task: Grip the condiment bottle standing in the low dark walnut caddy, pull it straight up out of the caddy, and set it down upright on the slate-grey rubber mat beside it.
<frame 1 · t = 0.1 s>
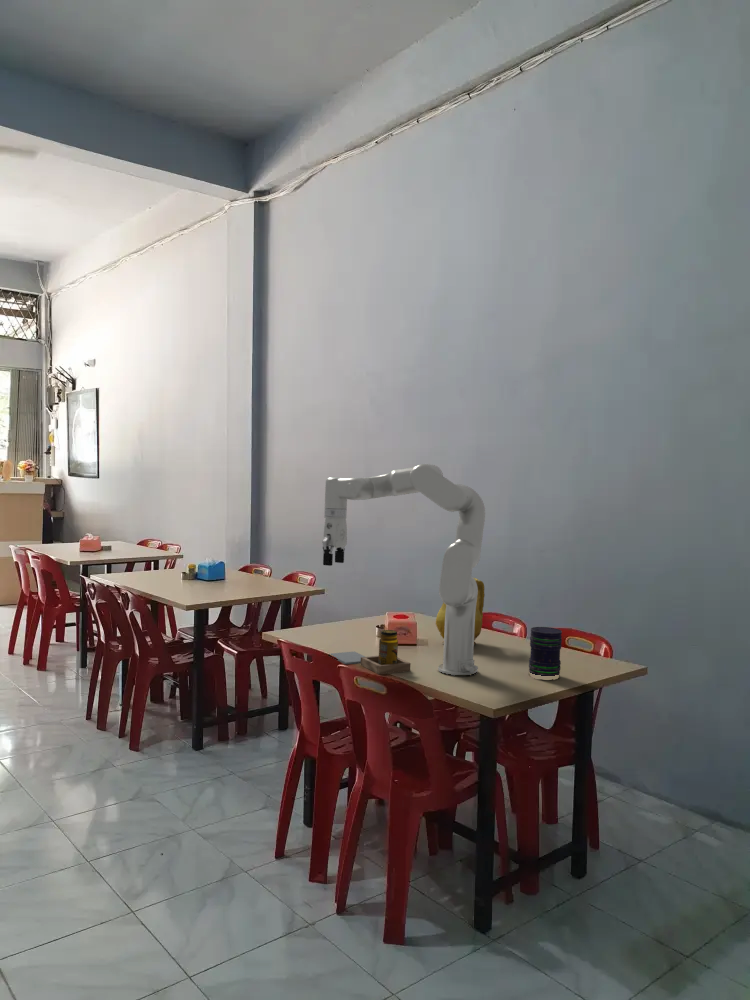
hand: (333, 563, 263), 31 cm above the table, tool pointing down, fingers open, 9 cm apart
mat: (350, 658, 259), on the table
caddy: (385, 667, 249), on the table
condiment: (385, 668, 249), resting in caddy
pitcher: (459, 644, 288), on the table
storage jar: (544, 677, 246), on the table
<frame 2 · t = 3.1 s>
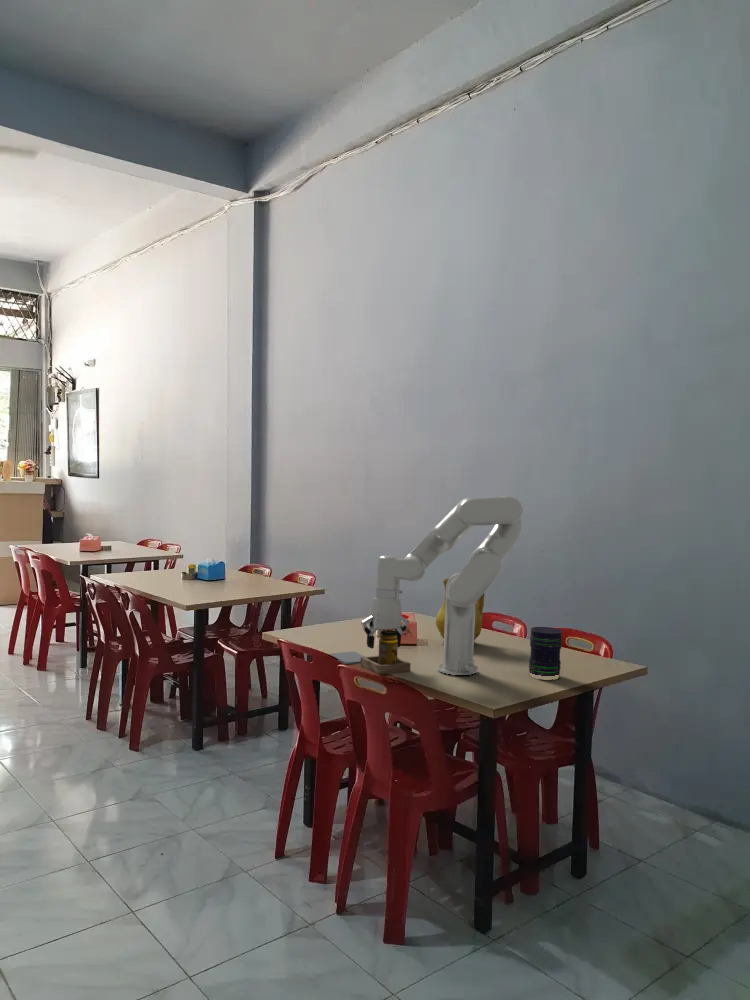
hand: (383, 646, 249), 7 cm above the table, tool pointing down, fingers open, 9 cm apart
nothing on the table moved.
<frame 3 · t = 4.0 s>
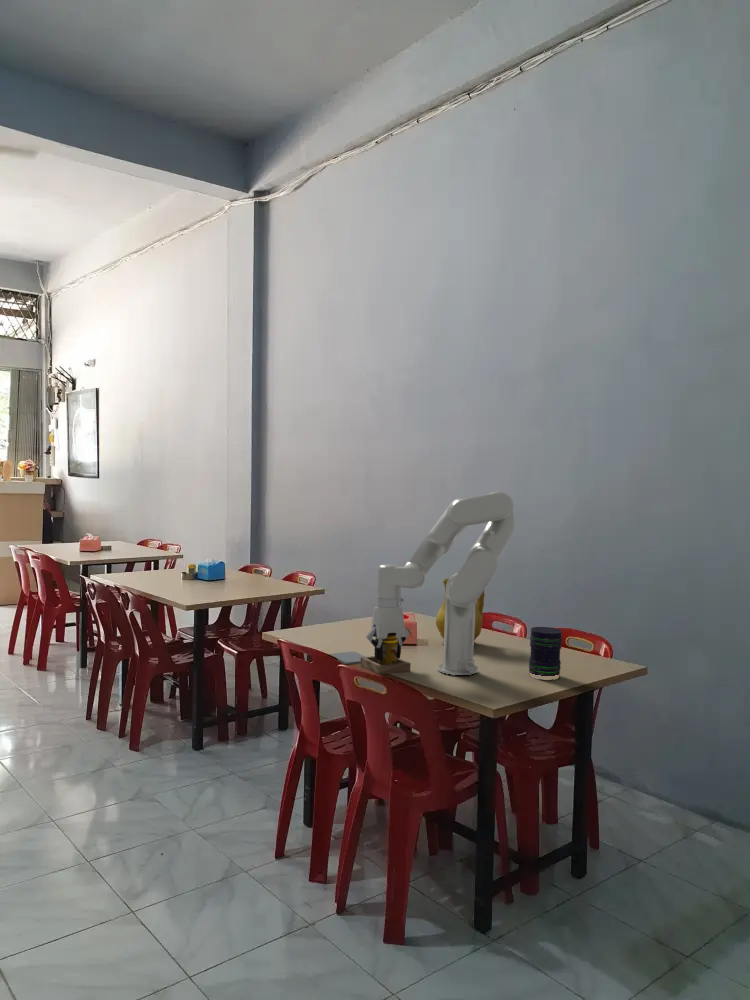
hand: (387, 657, 249), 3 cm above the table, tool pointing down, fingers closed on condiment, 6 cm apart
condiment: (384, 669, 248), resting in caddy, touching gripper
everything else where it was.
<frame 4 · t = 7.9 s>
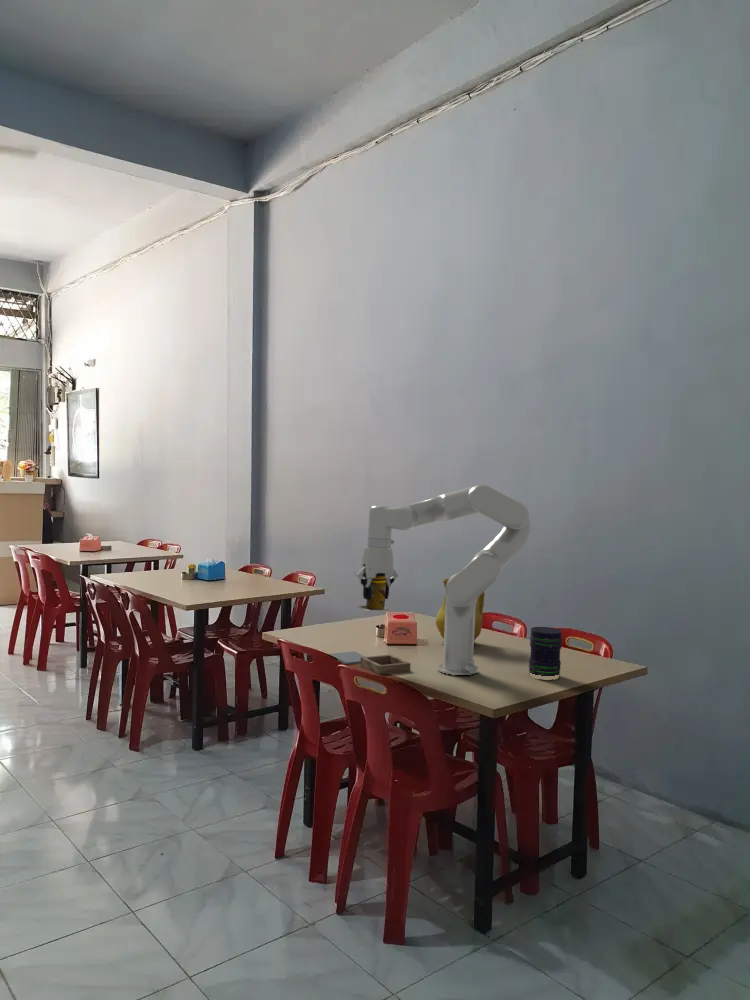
hand: (375, 598, 251), 22 cm above the table, tool pointing down, fingers closed on condiment, 6 cm apart
condiment: (372, 609, 251), point 18 cm above the table, touching gripper
everything else where it was.
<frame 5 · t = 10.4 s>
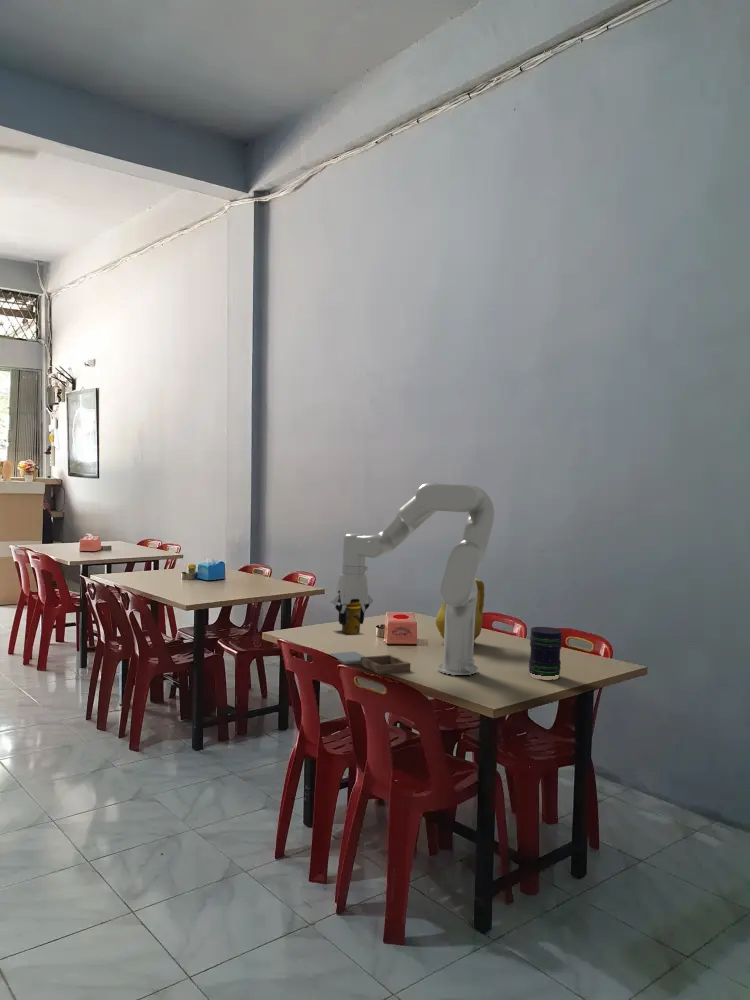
hand: (351, 623, 259), 12 cm above the table, tool pointing down, fingers closed on condiment, 6 cm apart
condiment: (348, 633, 259), point 8 cm above the table, touching gripper
everything else where it was.
when the fingers open (5 cm above the table, at t = 12.1 s): condiment drops 1 cm, resting on mat.
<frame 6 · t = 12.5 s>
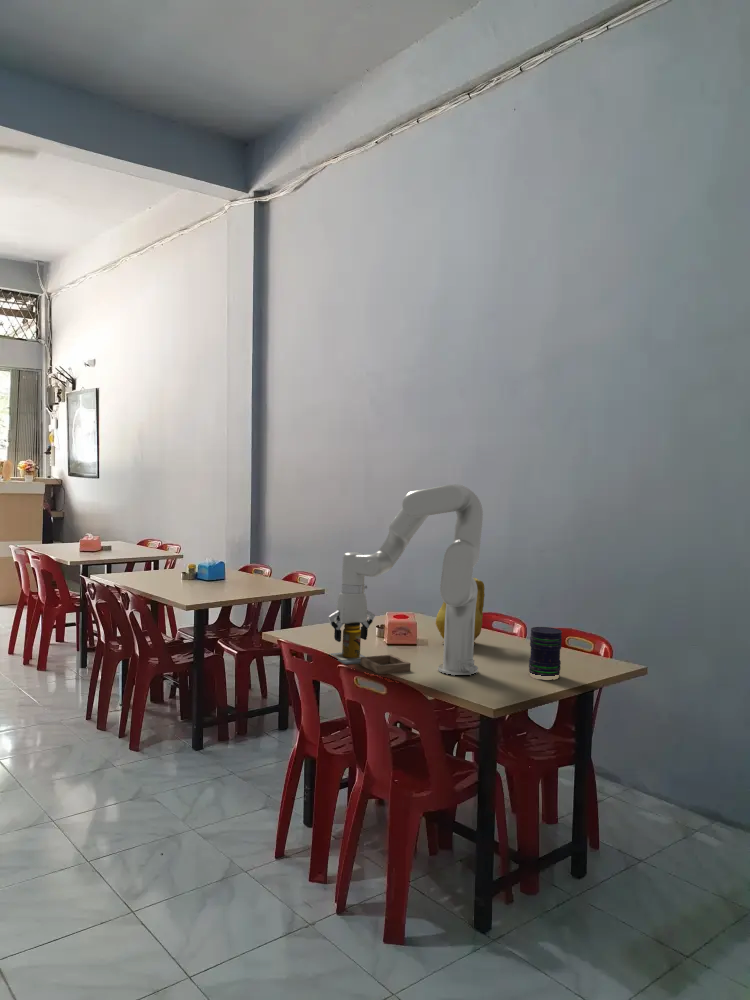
hand: (350, 640, 259), 6 cm above the table, tool pointing down, fingers open, 9 cm apart
condiment: (348, 657, 259), resting on mat
everything else where it was.
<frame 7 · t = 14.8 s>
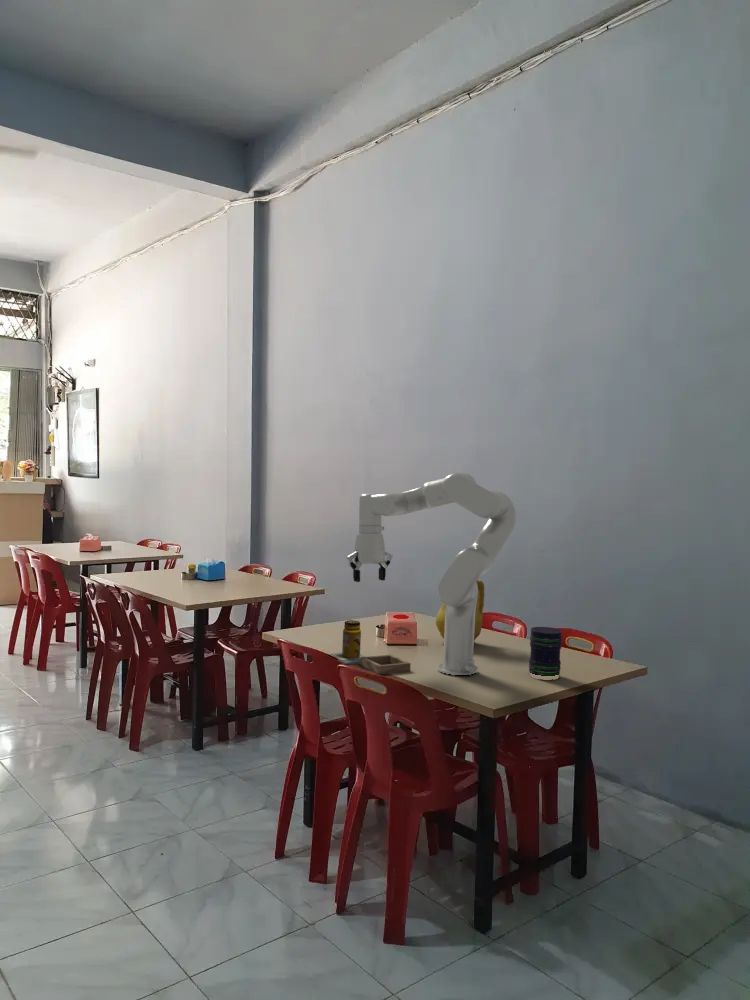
hand: (369, 580, 260), 26 cm above the table, tool pointing down, fingers open, 9 cm apart
nothing on the table moved.
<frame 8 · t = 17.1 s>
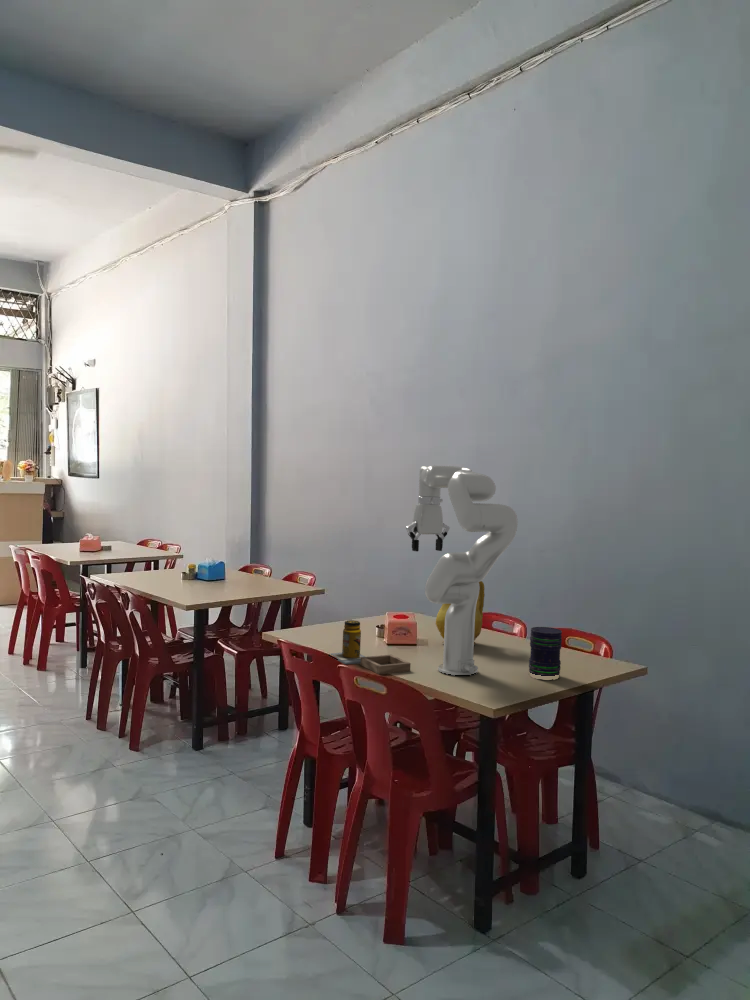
hand: (427, 550, 269), 36 cm above the table, tool pointing down, fingers open, 9 cm apart
nothing on the table moved.
at the end: condiment inside the target area on the mat (0.7 cm from its centre), point 0.4 cm above the mat's base; condiment tilted 0°; the gripper is holding nothing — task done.
